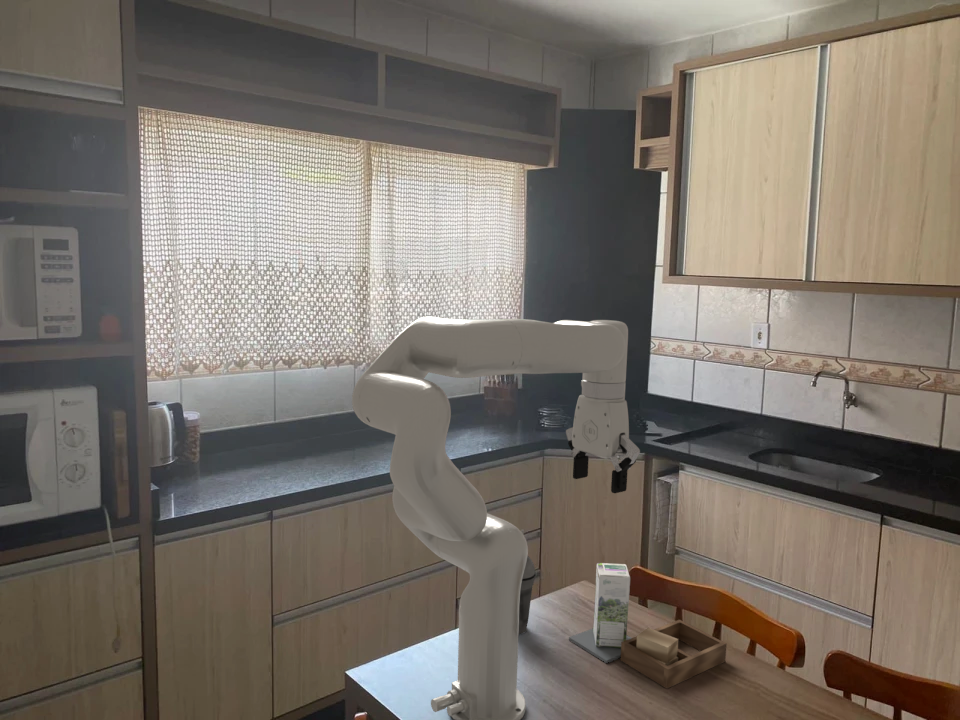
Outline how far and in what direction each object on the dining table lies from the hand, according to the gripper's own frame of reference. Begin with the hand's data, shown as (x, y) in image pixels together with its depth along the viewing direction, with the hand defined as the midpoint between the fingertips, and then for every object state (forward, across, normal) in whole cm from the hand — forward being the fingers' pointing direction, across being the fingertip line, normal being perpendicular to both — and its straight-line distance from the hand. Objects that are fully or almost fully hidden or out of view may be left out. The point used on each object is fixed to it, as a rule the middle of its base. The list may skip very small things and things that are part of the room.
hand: (598, 484), depth 133 cm
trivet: (+32, -1, +5) cm, 33 cm away
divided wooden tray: (+32, +10, +11) cm, 36 cm away
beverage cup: (+32, -15, -6) cm, 36 cm away
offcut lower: (+32, +10, +7) cm, 35 cm away
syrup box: (+32, -1, +6) cm, 32 cm away
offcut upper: (+30, +10, +6) cm, 32 cm away
